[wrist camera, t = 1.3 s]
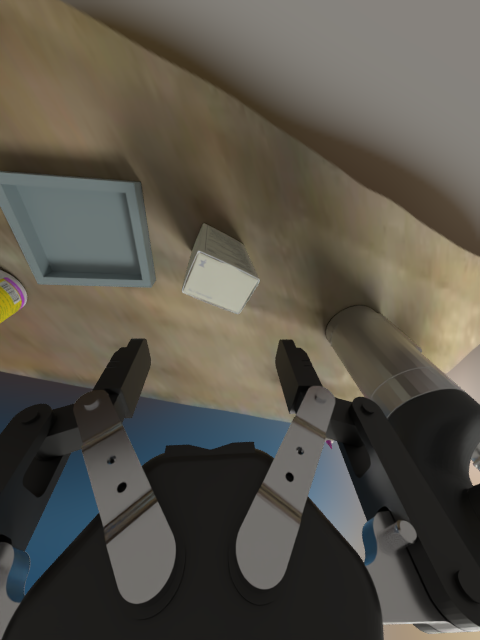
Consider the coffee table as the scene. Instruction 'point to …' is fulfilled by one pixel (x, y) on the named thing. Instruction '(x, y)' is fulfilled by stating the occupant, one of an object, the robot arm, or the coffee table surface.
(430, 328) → the coffee table surface
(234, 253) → the skincare box
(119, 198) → the tray
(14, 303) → the supplement bottle
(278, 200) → the coffee table surface
